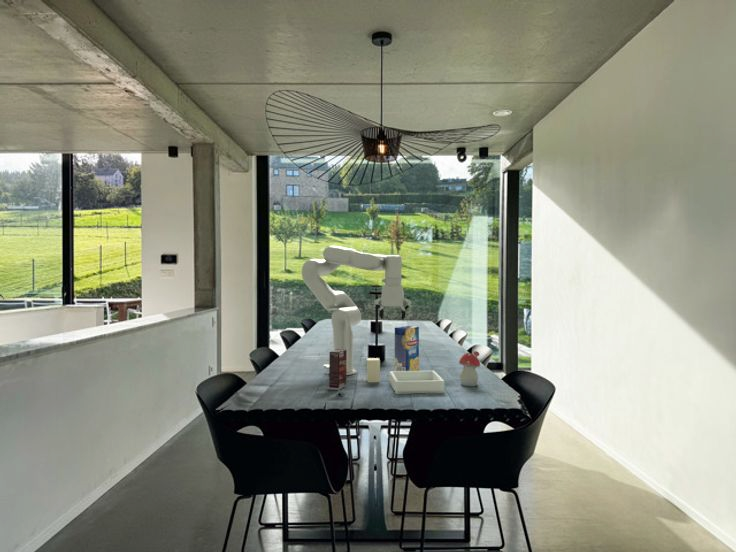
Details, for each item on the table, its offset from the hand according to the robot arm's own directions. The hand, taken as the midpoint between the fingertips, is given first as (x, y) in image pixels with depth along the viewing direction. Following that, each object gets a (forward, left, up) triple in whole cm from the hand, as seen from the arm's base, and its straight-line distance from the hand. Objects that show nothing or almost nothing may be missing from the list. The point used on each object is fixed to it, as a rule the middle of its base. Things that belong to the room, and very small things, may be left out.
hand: (392, 319), depth 249 cm
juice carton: (-9, -6, -27) cm, 30 cm away
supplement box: (-25, -18, -28) cm, 42 cm away
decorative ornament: (+32, -17, -28) cm, 45 cm away
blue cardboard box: (+9, +14, -28) cm, 32 cm away
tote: (+8, -20, -27) cm, 35 cm away
